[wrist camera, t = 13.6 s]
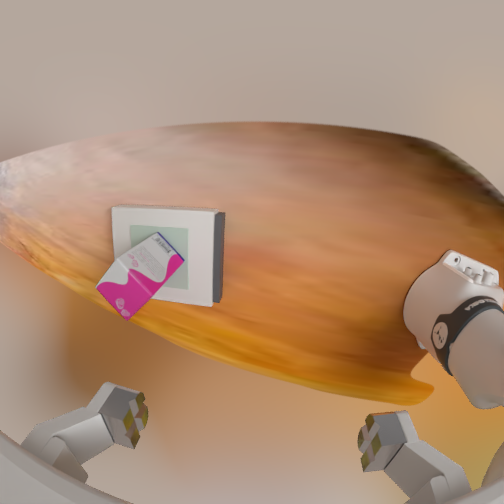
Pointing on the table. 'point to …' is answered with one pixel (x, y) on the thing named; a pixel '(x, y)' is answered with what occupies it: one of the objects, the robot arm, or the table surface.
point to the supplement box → (139, 274)
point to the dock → (178, 247)
